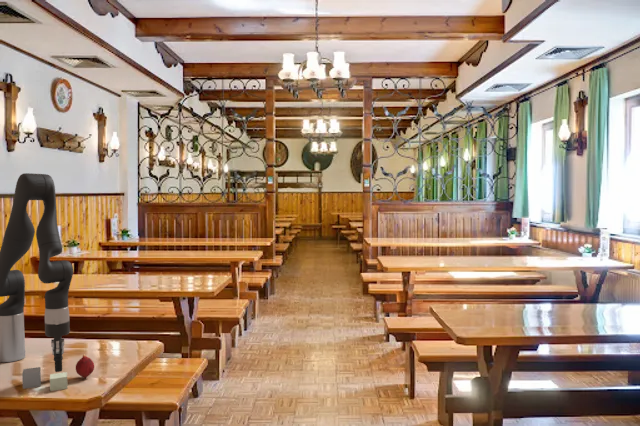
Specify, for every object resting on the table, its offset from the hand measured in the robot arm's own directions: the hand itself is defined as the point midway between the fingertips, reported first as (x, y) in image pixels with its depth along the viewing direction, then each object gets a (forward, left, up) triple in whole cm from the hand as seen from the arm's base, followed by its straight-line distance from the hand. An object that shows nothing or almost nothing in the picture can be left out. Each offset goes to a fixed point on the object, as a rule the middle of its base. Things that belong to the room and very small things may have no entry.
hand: (58, 371), depth 189 cm
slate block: (-6, -6, -3) cm, 9 cm away
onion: (+9, 0, -3) cm, 9 cm away
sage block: (+4, -8, -3) cm, 9 cm away
